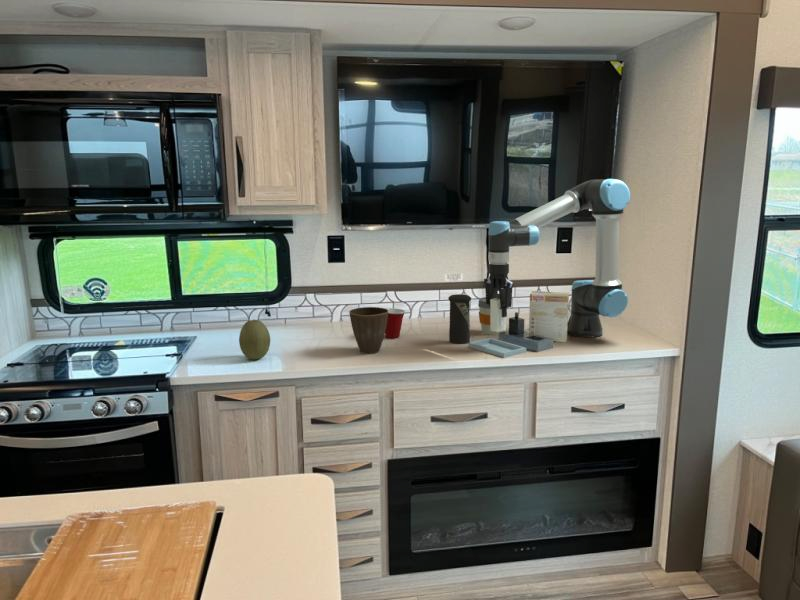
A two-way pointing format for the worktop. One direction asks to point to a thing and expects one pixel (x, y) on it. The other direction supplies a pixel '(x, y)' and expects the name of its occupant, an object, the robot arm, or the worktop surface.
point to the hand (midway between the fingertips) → (498, 324)
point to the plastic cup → (394, 322)
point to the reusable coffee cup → (485, 317)
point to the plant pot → (369, 327)
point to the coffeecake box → (549, 315)
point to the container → (459, 319)
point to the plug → (495, 315)
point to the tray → (497, 347)
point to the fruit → (254, 339)
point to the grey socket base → (524, 336)
